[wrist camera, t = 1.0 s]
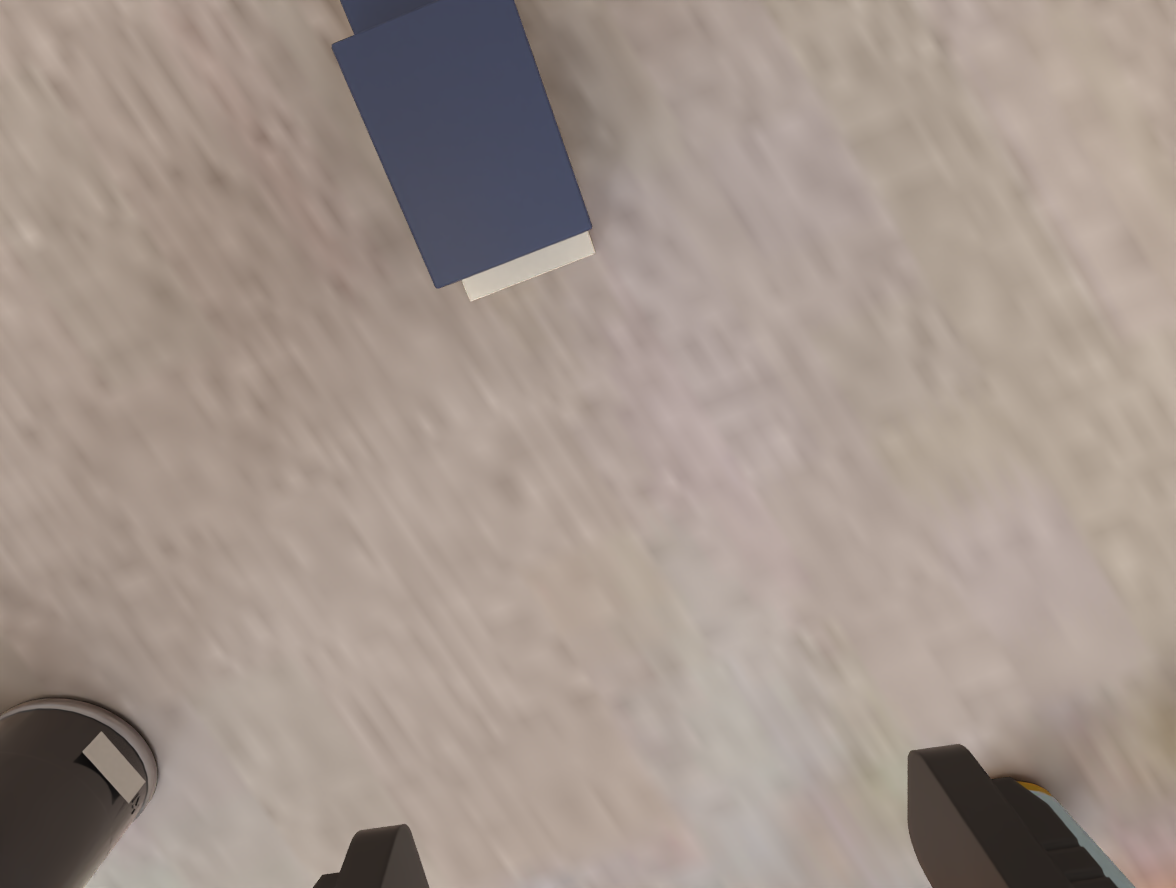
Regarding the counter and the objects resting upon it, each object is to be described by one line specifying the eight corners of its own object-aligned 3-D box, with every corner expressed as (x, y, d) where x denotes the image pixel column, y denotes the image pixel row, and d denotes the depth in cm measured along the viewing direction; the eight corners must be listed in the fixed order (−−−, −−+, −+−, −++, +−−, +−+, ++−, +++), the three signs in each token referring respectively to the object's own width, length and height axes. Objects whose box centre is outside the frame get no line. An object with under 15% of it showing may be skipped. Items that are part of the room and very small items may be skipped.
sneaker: (593, 252, 30) (609, 256, 21) (475, 298, 30) (442, 320, 21) (474, -89, 25) (432, -258, 17) (338, -30, 26) (229, -167, 17)
